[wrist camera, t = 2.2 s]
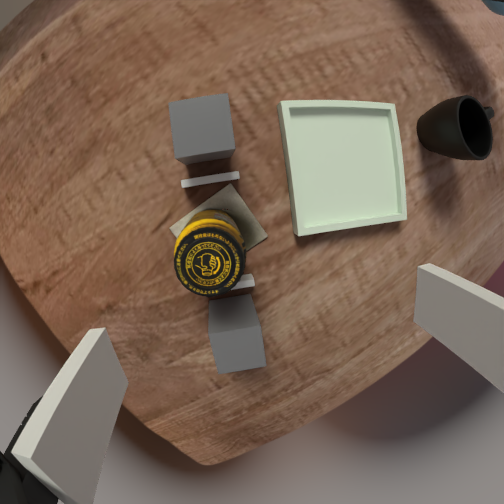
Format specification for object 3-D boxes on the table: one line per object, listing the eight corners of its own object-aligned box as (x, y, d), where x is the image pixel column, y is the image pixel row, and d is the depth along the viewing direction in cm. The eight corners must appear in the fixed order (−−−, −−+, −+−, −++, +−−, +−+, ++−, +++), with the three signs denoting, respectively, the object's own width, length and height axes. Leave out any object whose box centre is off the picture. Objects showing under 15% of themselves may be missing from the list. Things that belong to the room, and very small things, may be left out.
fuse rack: (173, 109, 28) (161, 87, 20) (227, 101, 28) (231, 76, 20) (215, 346, 35) (216, 385, 27) (261, 338, 36) (272, 376, 28)
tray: (276, 105, 29) (280, 101, 27) (386, 106, 30) (394, 103, 28) (293, 233, 33) (298, 236, 31) (398, 217, 34) (406, 219, 32)
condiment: (169, 227, 31) (143, 254, 19) (230, 182, 31) (239, 182, 19) (207, 277, 33) (205, 327, 21) (267, 235, 32) (296, 265, 21)
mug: (465, 141, 33) (508, 139, 24) (424, 169, 33) (472, 170, 24) (445, 94, 30) (488, 84, 21) (400, 115, 31) (447, 103, 22)
